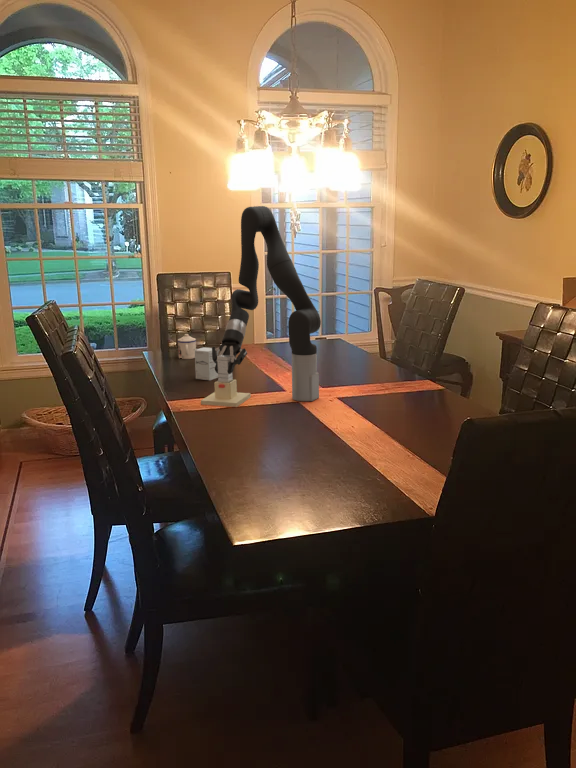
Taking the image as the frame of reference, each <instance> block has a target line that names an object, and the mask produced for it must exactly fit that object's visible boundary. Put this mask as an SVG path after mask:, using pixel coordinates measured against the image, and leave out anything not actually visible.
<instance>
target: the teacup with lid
mask: <svg viewBox="0 0 576 768" xmlns="http://www.w3.org/2000/svg"><path fill="white" fill-rule="evenodd" d="M177 347H178V349H177V350H178V359H180V358H182V359H181V360H192V359H195V350H197V339H196V338H195V337H192V336H191V335H189V333H184V336H182V337H180V338H178V339H177Z"/></svg>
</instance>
